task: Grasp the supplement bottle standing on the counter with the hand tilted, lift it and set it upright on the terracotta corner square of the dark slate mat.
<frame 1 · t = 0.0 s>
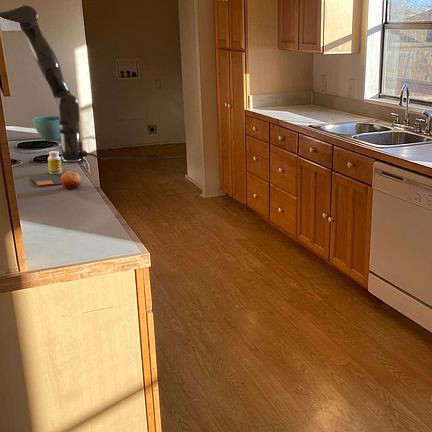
fruit: (71, 188, 236), on the counter
corner mat: (54, 180, 247), on the counter
supplement bottle: (55, 173, 260), on the counter
plant pot: (51, 139, 338), on the counter
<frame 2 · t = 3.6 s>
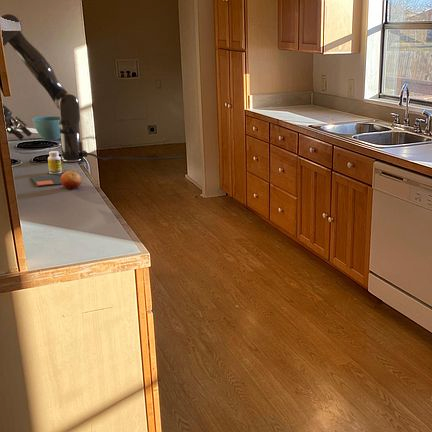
hand: (26, 136, 255), 16 cm above the counter, tool tilted 45°, fingers open, 8 cm apart
nothing on the counter moved.
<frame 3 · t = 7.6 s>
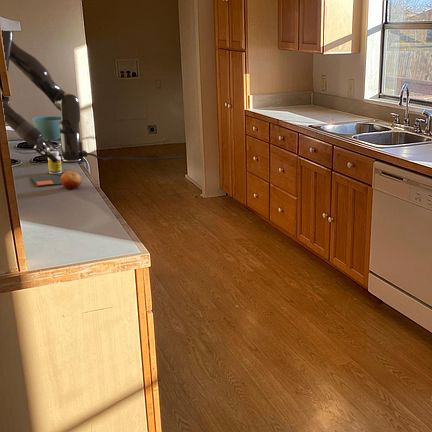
hand: (58, 159, 258), 6 cm above the counter, tool tilted 45°, fingers closed on supplement bottle, 5 cm apart
supplement bottle: (55, 173, 260), on the counter, touching gripper
everything else where it was.
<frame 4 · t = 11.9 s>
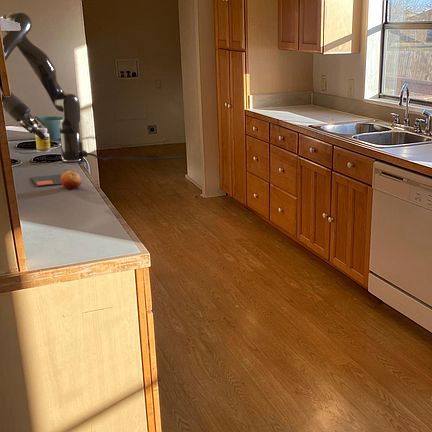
hand: (46, 136, 241), 19 cm above the counter, tool tilted 45°, fingers closed on supplement bottle, 5 cm apart
supplement bottle: (43, 151, 243), point 13 cm above the counter, touching gripper
everything else where it was.
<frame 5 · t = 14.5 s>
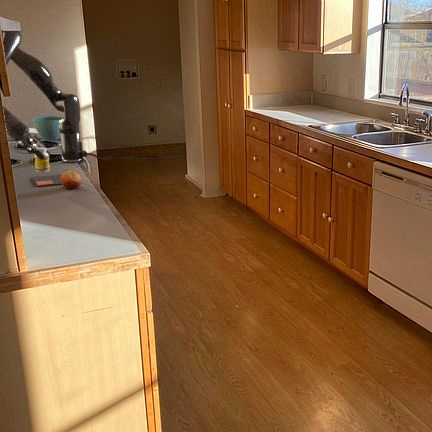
hand: (46, 156, 238), 12 cm above the counter, tool tilted 45°, fingers closed on supplement bottle, 5 cm apart
supplement bottle: (43, 171, 240), point 6 cm above the counter, touching gripper
everything else where it was.
when the fingers open (7 cm above the counter, at t = 16.4 s): supplement bottle stays where it is, resting on corner mat.
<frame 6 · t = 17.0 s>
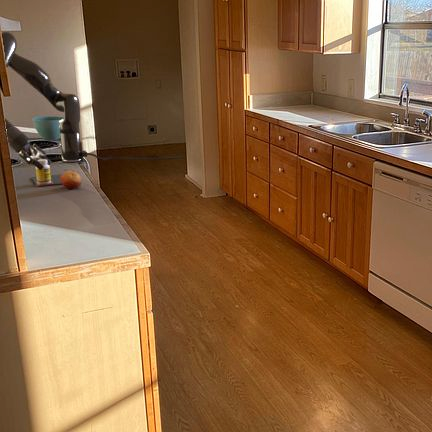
hand: (46, 166, 239), 8 cm above the counter, tool tilted 45°, fingers open, 8 cm apart
supplement bottle: (44, 183, 241), resting on corner mat
everything else where it was.
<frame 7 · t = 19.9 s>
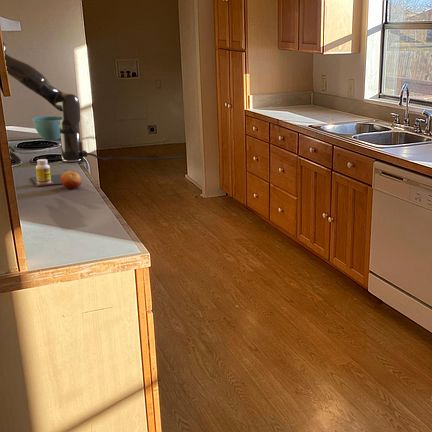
hand: (15, 163, 239), 9 cm above the counter, tool tilted 45°, fingers open, 8 cm apart
nothing on the counter moved.
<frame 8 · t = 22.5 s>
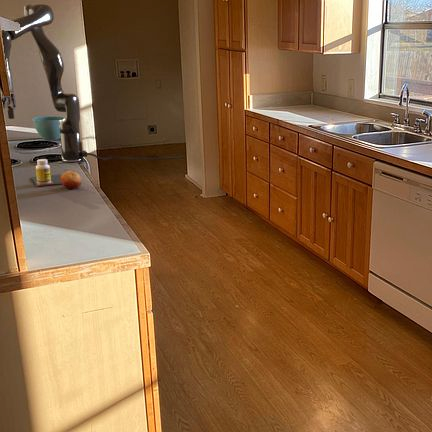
hand: (7, 120, 237), 26 cm above the counter, tool pointing down, fingers open, 8 cm apart
nothing on the counter moved.
at the end: supplement bottle 0.2 cm from the target spot on the corner mat, point 0.4 cm above the corner mat's base; supplement bottle tilted 0°; the gripper is holding nothing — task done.
